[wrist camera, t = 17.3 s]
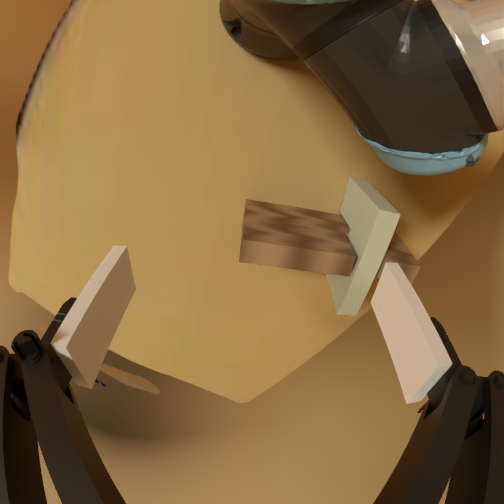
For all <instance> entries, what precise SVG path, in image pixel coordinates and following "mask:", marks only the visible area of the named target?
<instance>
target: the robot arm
mask: <svg viewBox="0 0 504 504" xmlns="http://www.w3.org/2000/svg"><path fill="white" fill-rule="evenodd" d="M220 16H221V20H222V23H223V25H224V27H225V29H226V31H227V32H228V34H229V35H230V37H231V38H232V39H233V40H234V41H235V42H236V43H237V44H238V45H240V46H241V47H242V48H244V49H245V50H247V51H249V52H251V53H253V54H256V55H258V56H262V57H265V58H270V59H293V58H298V57H299V58H300V59H301V60H302V62H303V63H304V64H305V65H306V66H307V67H308V68H309V69H310V70H311V71H312V73H313V74H314V75H315V76H316V77H317V78H318V79H319V81H320V82H321V83H322V84H323V85H324V86H325V88H326V89H327V90H328V91H329V92H330V94H331V95H332V96H333V97H334V99H335V100H336V101H337V102H338V104H339V105H340V106H341V107H342V109H343V110H344V111H345V112H346V114H347V115H348V116H349V118H350V119H351V120H352V122H353V123H354V127H355V129H356V131H357V133H358V134H359V135H360V137H361V138H363V139H364V140H365V141H366V142H367V143H368V144H369V145H370V146H371V148H372V149H373V150H374V152H375V153H376V155H377V156H378V157H379V158H380V159H381V160H382V161H383V162H384V163H385V164H387V165H388V166H389V167H391V168H393V169H394V170H397V171H399V172H402V173H406V174H410V175H418V176H431V175H441V174H446V173H450V172H453V171H456V170H459V169H461V168H463V167H465V166H466V161H467V160H470V161H475V160H476V159H477V158H478V157H479V156H480V155H481V154H482V153H483V151H484V150H485V147H486V145H487V141H488V133H490V132H495V131H500V130H503V128H504V0H474V1H471V2H468V3H459V4H458V3H456V2H453V1H451V0H418V1H414V0H220ZM135 290H136V286H135V282H134V278H133V273H132V268H131V263H130V259H129V253H128V248H127V246H117V245H114V246H113V248H112V249H111V250H110V252H109V253H108V254H107V256H106V257H105V258H104V260H103V261H102V263H101V264H100V265H99V267H98V268H97V270H96V271H95V273H94V274H93V276H92V277H91V278H90V280H89V281H88V283H87V284H86V286H85V287H84V289H83V290H82V292H81V293H80V295H79V297H78V298H73V297H71V298H70V299H69V300H68V301H66V302H65V303H64V304H63V305H62V307H61V308H60V310H59V311H58V314H57V315H56V316H55V318H54V321H52V323H51V324H50V326H49V327H48V329H47V331H46V332H45V334H44V336H43V337H42V339H41V340H40V339H39V337H38V335H37V333H35V332H34V331H33V330H25V331H22V332H20V333H19V334H18V335H17V336H16V337H15V338H14V340H13V342H12V346H11V348H12V349H13V351H14V352H15V354H10V353H9V352H8V350H7V348H5V347H4V346H0V504H47V501H46V496H45V491H44V486H43V480H42V474H41V468H40V459H39V451H38V442H39V445H40V448H41V451H42V454H43V457H44V460H45V463H46V466H47V468H48V471H49V474H50V476H51V479H52V481H53V483H54V486H55V488H56V490H57V493H58V495H59V497H60V499H61V502H62V504H126V503H125V501H124V499H123V498H122V496H121V494H120V493H119V491H118V489H117V488H116V486H115V484H114V483H113V481H112V479H111V478H110V475H109V473H108V472H107V470H106V468H105V466H104V464H103V462H102V460H101V458H100V456H99V454H98V452H97V450H96V448H95V446H94V443H93V441H92V439H91V437H90V435H89V432H88V430H87V427H86V425H85V422H84V420H83V417H82V415H81V413H80V410H79V407H78V404H77V402H76V399H75V396H74V393H73V390H72V387H71V386H70V384H69V383H70V380H71V378H73V380H74V381H75V382H76V384H77V385H80V386H83V387H87V388H90V389H92V387H93V384H94V382H95V379H96V377H97V374H98V371H99V369H100V367H101V364H102V362H103V360H104V357H105V355H106V353H107V350H108V348H109V346H110V343H111V341H112V339H113V336H114V334H115V332H116V330H117V328H118V325H119V323H120V321H121V319H122V317H123V315H124V312H125V310H126V308H127V306H128V304H129V302H130V300H131V298H132V296H133V294H134V292H135ZM371 305H372V307H373V310H374V312H375V315H376V317H377V320H378V322H379V325H380V328H381V330H382V333H383V335H384V338H385V341H386V344H387V346H388V349H389V352H390V355H391V358H392V360H393V363H394V366H395V369H396V372H397V375H398V378H399V381H400V384H401V388H402V391H403V394H404V397H405V401H406V403H407V404H408V403H413V402H418V401H421V400H422V399H423V398H424V397H425V395H426V394H427V395H428V398H429V400H428V401H427V402H426V403H425V404H424V405H423V406H422V407H421V408H420V410H419V411H418V413H420V412H421V411H422V410H423V412H422V414H421V416H420V419H419V421H418V423H417V425H416V428H415V430H414V432H413V434H412V436H411V438H410V440H409V443H408V445H407V447H406V449H405V450H404V452H403V454H402V456H401V458H400V460H399V462H398V464H397V466H396V467H395V469H394V471H393V473H392V474H391V476H390V478H389V479H388V481H387V483H386V485H385V486H384V488H383V489H382V491H381V493H380V494H379V496H378V497H377V499H376V500H375V502H374V503H373V504H438V503H439V501H440V499H441V497H442V495H443V493H444V490H445V488H446V486H447V483H448V481H449V479H450V482H449V487H448V492H447V496H446V500H445V504H504V374H503V373H502V372H500V371H493V372H492V373H491V374H490V375H489V376H488V377H481V376H476V373H475V372H474V371H473V370H472V369H471V368H470V367H468V366H462V364H461V362H460V360H459V358H458V356H457V354H456V352H455V350H454V348H453V346H452V344H451V342H450V341H449V338H448V336H447V335H446V332H445V330H444V328H443V327H442V325H441V324H440V323H439V322H438V321H437V320H436V319H435V318H434V317H432V318H430V317H429V315H428V314H427V312H426V310H425V308H424V306H423V305H422V303H421V301H420V299H419V298H418V296H417V294H416V292H415V291H414V289H413V287H412V285H411V284H410V282H409V280H408V279H407V277H406V275H405V274H404V272H403V270H402V269H401V267H400V266H399V264H398V263H387V262H386V263H385V266H384V269H383V271H382V274H381V277H380V280H379V282H378V285H377V287H376V290H375V293H374V295H373V298H372V300H371ZM483 414H484V419H483ZM37 439H38V440H37ZM450 476H451V477H450Z"/></svg>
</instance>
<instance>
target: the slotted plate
mask: <svg viewBox="0 0 504 504" xmlns="http://www.w3.org/2000/svg"><path fill="white" fill-rule="evenodd" d="M340 212H341V214H342V215H343V217H344V219H345V220H346V222H347V224H348V225H349V227H350V232H349V235H348V238H347V239H348V241H349V243H350V245H351V247H352V249H353V251H354V253H355V255H356V258H355V261H354V263H353V266H352V268H351V271H350V273H349V276H342V275H334V274H327V273H325V275H326V279H327V282H328V285H329V288H330V292H331V295H332V298H333V302H334V305H335V308H336V312H337V314H339V315H352V316H356V315H357V313H358V311H359V309H360V307H361V305H362V303H363V301H364V299H365V297H366V295H367V293H368V291H369V289H370V287H371V284H372V282H373V280H374V278H375V276H376V274H377V271H378V269H379V267H380V265H381V262H382V260H383V258H384V255H385V253H386V251H387V248H388V246H389V243H390V241H391V239H392V236H393V234H394V231H395V228H396V226H397V223H398V221H399V218H400V215H401V214H400V213H399V212H398V211H397V210H396V209H395V208H394V207H393V206H392V205H391V204H390V203H389V202H388V201H387V200H386V199H385V198H384V197H383V196H382V195H381V194H380V193H379V192H378V191H377V190H376V189H375V188H374V187H373V186H372V185H371V184H370V183H369V182H368V181H366V180H361V179H357V178H353V177H349V181H348V184H347V188H346V191H345V195H344V198H343V202H342V205H341V208H340Z"/></svg>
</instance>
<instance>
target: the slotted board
mask: <svg viewBox="0 0 504 504" xmlns="http://www.w3.org/2000/svg"><path fill="white" fill-rule="evenodd" d="M349 232H350V227H349V225H348V224H347V222H346V220H345V219H344V217H343V216H341V215H336V214H331V213H325V212H320V211H314V210H309V209H303V208H297V207H291V206H285V205H279V204H272V203H266V202H259V201H253V200H246V203H245V210H244V216H243V226H242V236H241V247H240V258H239V262H243V263H251V264H258V265H266V266H273V267H280V268H288V269H296V270H303V271H311V272H319V273H327V274H334V275H342V276H349V273H350V271H351V268H352V266H353V263H354V261H355V258H356V255H355V253H354V251H353V249H352V247H351V245H350V243H349V241H348V239H347V238H348V235H349ZM386 262H387V263H398V264H399V266H400V267H401V269H402V270H403V272H404V274H405V275H406V277H407V279H408V280H409V282H410V284H412V283H413V281H414V279H415V277H416V275H417V273H418V271H419V269H420V267H421V266H420V264H419V263H418V262H417V260H416V259H415V258H414V256H413V255H412V254H411V252H410V251H409V250H408V248H407V247H406V246H405V244H404V243H403V242H402V240H401V239H400V238H399V237H398V235H397V234H396V233H395V232H394V234H393V236H392V239H391V241H390V243H389V246H388V248H387V251H386V253H385V255H384V258H383V260H382V262H381V265H380V267H379V269H378V271H377V274H376V275H377V277H378V279H379V280H380V277H381V274H382V271H383V269H384V266H385V263H386Z"/></svg>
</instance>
